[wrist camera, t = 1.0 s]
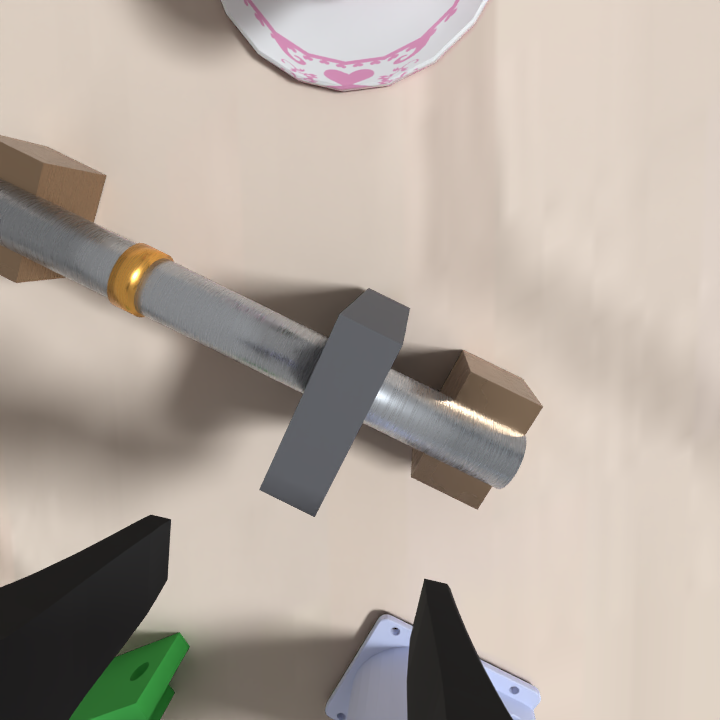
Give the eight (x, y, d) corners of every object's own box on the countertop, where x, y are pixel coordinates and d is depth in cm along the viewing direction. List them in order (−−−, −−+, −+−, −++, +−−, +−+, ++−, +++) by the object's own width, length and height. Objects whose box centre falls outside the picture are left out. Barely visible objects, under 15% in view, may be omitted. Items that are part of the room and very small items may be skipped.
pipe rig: (523, 379, 21) (552, 420, 16) (468, 467, 22) (481, 529, 17) (47, 146, 21) (-64, 119, 16) (23, 248, 22) (-84, 251, 18)
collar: (409, 308, 20) (402, 344, 13) (349, 428, 22) (314, 516, 15) (368, 288, 20) (339, 313, 13) (311, 409, 22) (259, 489, 15)
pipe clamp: (82, 721, 31) (24, 803, 26) (49, 679, 30) (-16, 755, 26) (214, 677, 28) (175, 759, 24) (181, 629, 27) (134, 705, 23)
